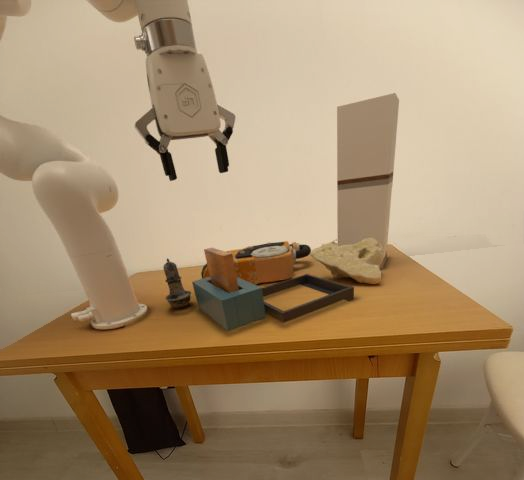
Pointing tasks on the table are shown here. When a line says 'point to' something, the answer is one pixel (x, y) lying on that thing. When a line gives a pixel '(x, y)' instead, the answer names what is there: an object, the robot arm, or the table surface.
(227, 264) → the wooden plank block
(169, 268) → the dark stone tower figurine
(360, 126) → the refrigerator
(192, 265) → the table surface
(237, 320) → the blue-grey slotted box
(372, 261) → the beige rock
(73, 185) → the robot arm
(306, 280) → the dark rectangular frame
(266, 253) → the device
